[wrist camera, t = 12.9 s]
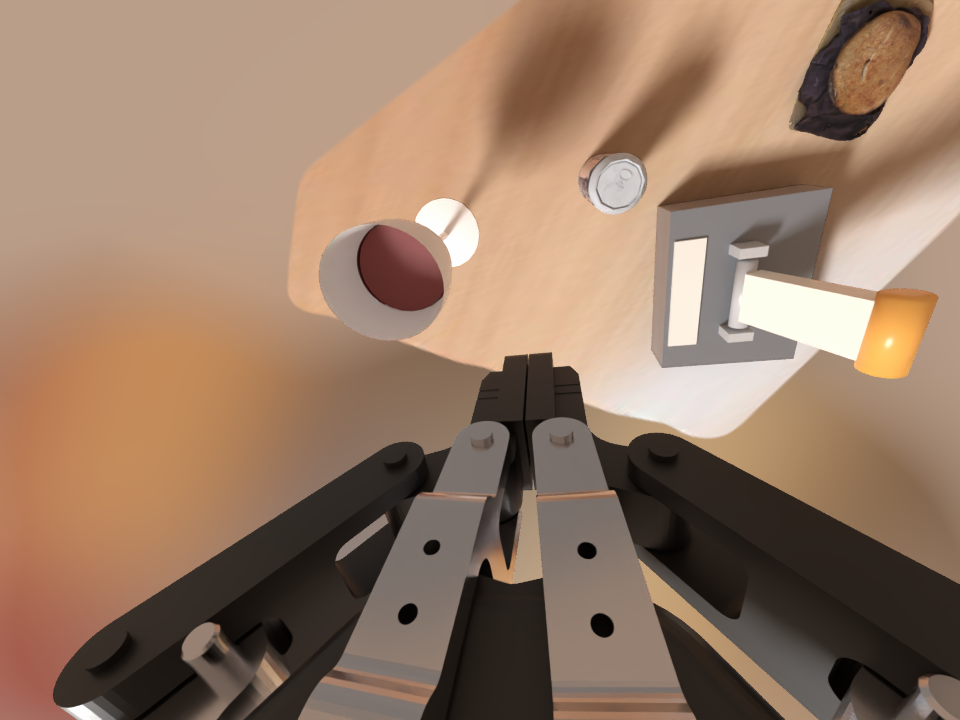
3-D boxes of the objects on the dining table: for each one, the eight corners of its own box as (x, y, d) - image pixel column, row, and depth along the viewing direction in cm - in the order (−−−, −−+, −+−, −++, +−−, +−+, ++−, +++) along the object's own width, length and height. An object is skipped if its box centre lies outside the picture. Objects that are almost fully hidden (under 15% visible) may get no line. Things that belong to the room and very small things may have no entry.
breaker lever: (719, 326, 41) (887, 388, 28) (727, 262, 38) (921, 298, 25) (741, 319, 42) (916, 376, 29) (751, 256, 39) (953, 288, 26)
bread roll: (836, -9, 33) (868, -28, 30) (937, 3, 33) (981, -14, 29) (774, 131, 38) (795, 128, 35) (860, 144, 38) (890, 143, 34)
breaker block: (651, 349, 50) (667, 378, 44) (657, 206, 42) (678, 215, 36) (770, 340, 47) (806, 369, 41) (800, 184, 39) (852, 189, 33)
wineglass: (487, 266, 48) (452, 338, 29) (415, 271, 50) (337, 342, 31) (480, 191, 44) (433, 217, 25) (402, 200, 46) (302, 230, 27)
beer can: (569, 190, 43) (578, 200, 32) (592, 145, 40) (610, 141, 30) (606, 209, 43) (627, 225, 33) (631, 166, 41) (663, 169, 30)
